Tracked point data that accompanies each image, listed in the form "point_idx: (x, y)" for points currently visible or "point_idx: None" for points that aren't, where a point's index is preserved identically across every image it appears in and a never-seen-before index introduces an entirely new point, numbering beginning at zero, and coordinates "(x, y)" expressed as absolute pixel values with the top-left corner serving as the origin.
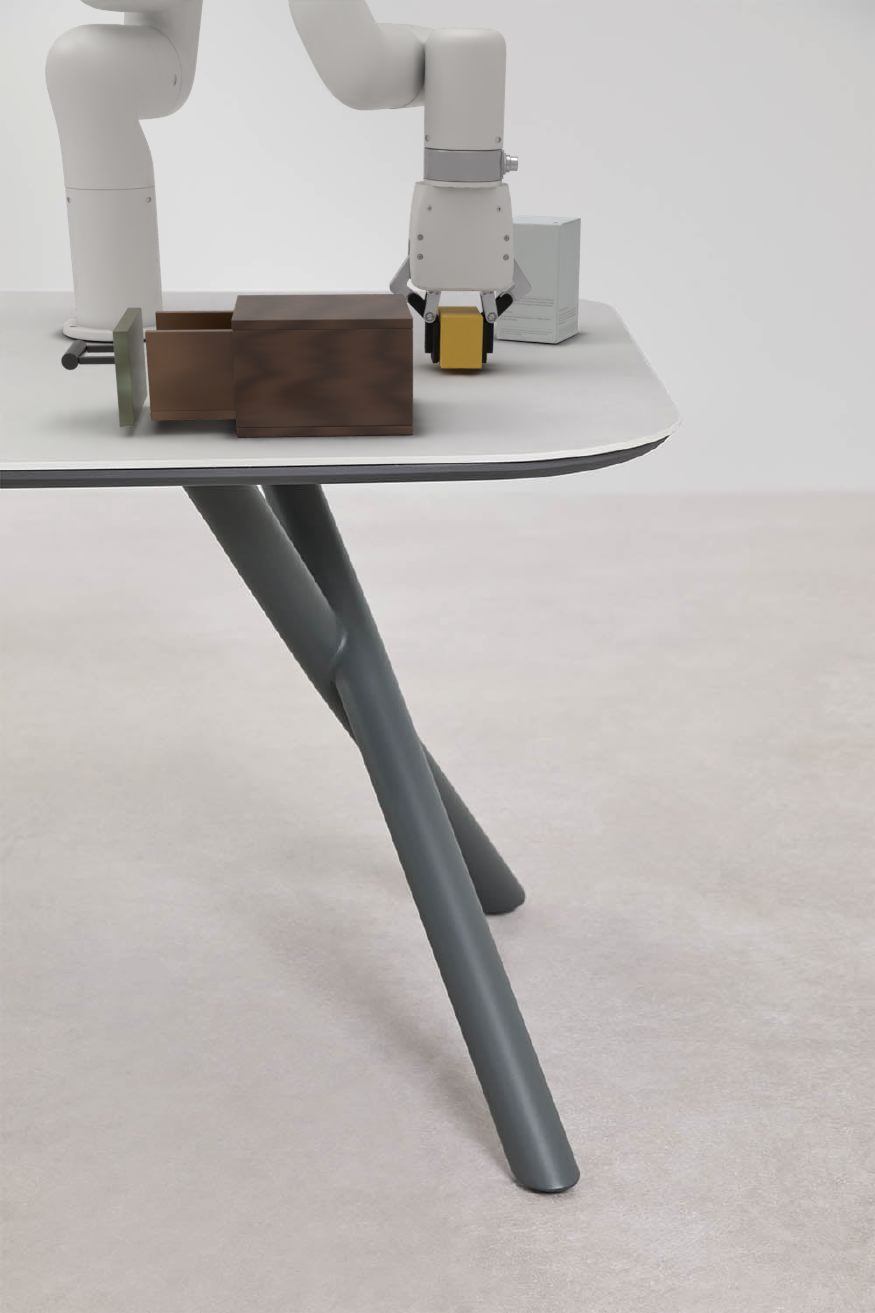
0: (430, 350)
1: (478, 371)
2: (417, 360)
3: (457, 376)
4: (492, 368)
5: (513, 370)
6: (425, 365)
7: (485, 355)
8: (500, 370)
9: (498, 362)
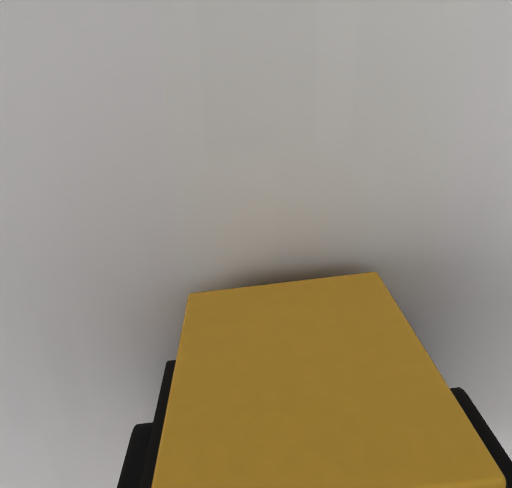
0: None
1: None
2: (96, 218)
3: None
4: (428, 352)
5: (503, 378)
6: (150, 317)
7: None
8: (453, 381)
9: (477, 239)
